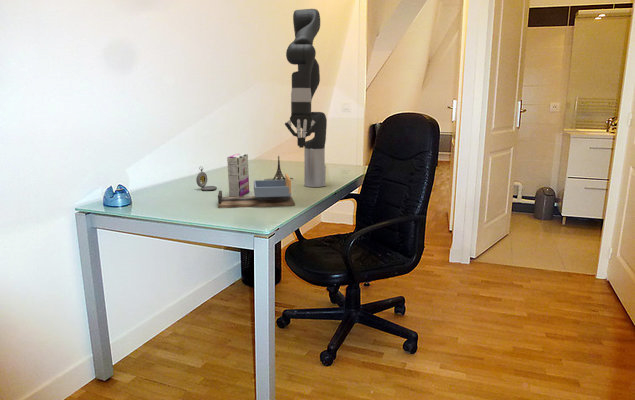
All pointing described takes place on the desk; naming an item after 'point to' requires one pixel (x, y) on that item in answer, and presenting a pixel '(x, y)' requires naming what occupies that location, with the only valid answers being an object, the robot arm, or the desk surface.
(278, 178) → the eiffel tower figurine
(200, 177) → the pocket watch
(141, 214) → the desk surface
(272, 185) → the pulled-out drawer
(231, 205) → the track
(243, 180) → the candy bar box
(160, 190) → the desk surface
